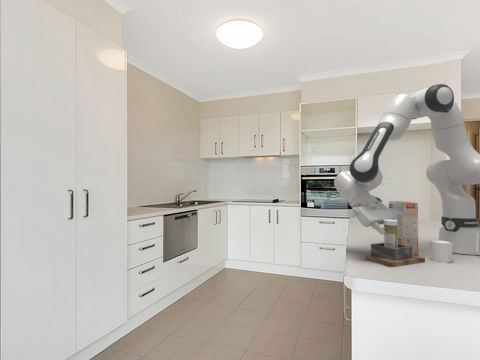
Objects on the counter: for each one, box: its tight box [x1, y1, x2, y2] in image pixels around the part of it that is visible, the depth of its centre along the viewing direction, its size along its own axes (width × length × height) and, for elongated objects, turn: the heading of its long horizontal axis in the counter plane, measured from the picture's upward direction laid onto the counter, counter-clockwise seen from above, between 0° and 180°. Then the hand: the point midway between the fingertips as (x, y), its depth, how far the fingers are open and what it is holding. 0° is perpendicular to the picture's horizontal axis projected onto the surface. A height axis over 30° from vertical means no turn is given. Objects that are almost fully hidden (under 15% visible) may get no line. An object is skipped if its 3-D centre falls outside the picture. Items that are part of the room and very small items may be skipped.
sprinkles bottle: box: [383, 219, 398, 248], centre depth 102 cm, size 5×5×13 cm
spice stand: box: [364, 242, 426, 268], centre depth 101 cm, size 17×11×6 cm, turn 112°
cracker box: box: [388, 200, 419, 256], centre depth 116 cm, size 14×6×21 cm, turn 173°
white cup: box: [429, 239, 453, 264], centre depth 101 cm, size 7×7×7 cm
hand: (390, 232), depth 101 cm, fingers open, 8 cm apart
